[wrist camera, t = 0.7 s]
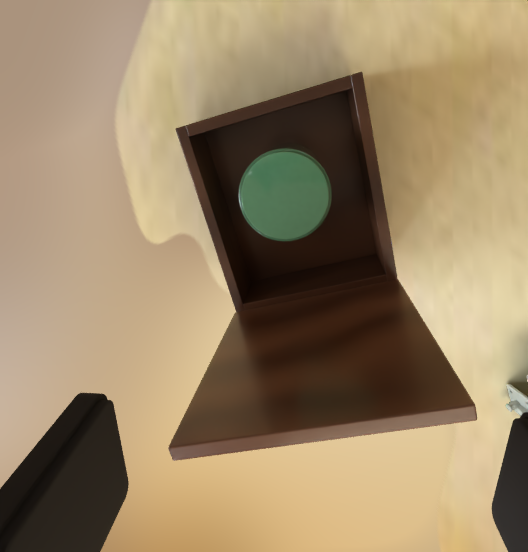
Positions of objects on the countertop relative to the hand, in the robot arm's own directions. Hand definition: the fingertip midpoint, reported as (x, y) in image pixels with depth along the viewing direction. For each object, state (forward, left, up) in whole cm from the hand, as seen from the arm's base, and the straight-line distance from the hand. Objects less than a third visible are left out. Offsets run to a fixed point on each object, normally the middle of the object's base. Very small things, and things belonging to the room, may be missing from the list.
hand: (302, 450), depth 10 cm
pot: (-2, -1, -28) cm, 28 cm away
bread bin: (-1, -1, -29) cm, 29 cm away
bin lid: (+6, -1, -15) cm, 16 cm away
